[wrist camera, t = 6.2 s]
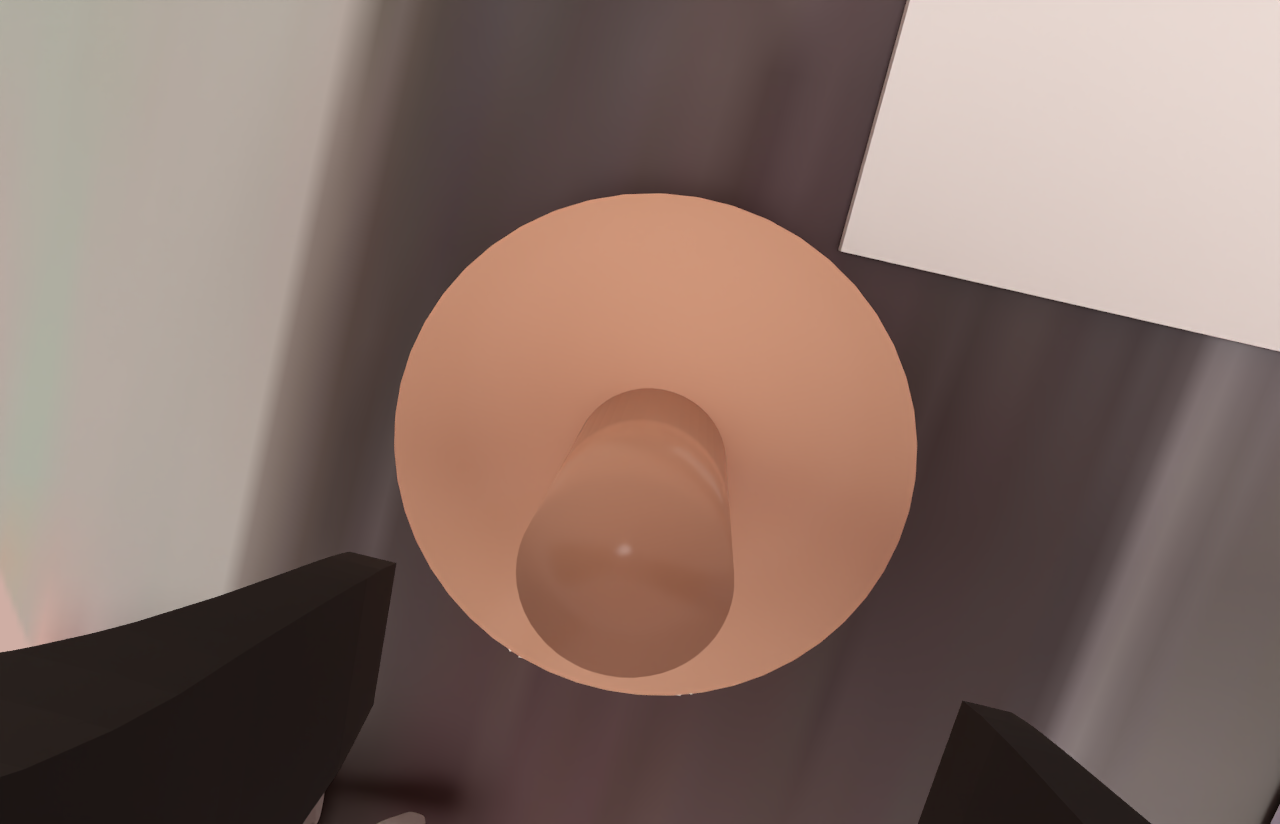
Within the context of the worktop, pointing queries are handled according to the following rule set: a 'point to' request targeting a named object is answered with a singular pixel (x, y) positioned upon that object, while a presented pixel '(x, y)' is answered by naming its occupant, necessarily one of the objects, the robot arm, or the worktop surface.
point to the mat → (1085, 156)
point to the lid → (655, 444)
